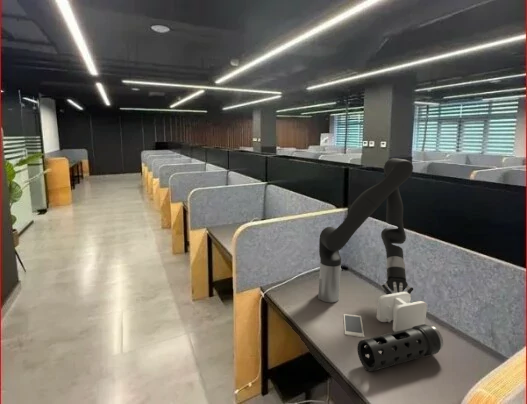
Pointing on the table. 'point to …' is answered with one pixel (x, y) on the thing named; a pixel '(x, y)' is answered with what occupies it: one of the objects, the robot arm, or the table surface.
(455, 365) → the table surface
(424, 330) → the muzzle brake
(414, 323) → the white toothbrush holder
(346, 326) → the phone
